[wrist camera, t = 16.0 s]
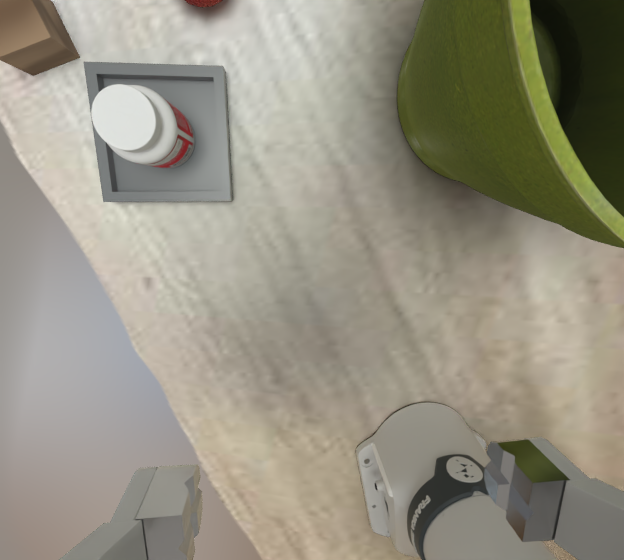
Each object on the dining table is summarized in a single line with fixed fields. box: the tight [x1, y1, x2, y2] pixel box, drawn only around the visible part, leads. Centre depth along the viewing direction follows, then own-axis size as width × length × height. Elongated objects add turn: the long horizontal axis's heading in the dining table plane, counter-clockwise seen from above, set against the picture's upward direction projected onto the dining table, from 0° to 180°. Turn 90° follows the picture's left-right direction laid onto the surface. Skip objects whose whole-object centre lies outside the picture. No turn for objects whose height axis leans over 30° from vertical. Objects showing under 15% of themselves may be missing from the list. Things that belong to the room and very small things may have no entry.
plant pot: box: [397, 0, 624, 248], centre depth 27 cm, size 30×30×29 cm
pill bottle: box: [91, 84, 195, 168], centre depth 32 cm, size 6×6×11 cm
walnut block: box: [0, 0, 80, 76], centre depth 33 cm, size 5×5×5 cm
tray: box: [84, 62, 233, 202], centre depth 37 cm, size 13×13×2 cm
